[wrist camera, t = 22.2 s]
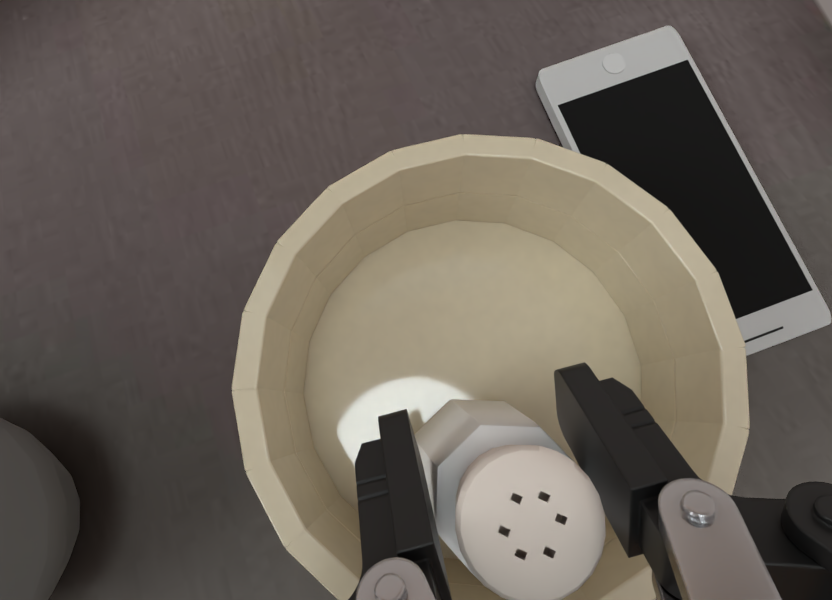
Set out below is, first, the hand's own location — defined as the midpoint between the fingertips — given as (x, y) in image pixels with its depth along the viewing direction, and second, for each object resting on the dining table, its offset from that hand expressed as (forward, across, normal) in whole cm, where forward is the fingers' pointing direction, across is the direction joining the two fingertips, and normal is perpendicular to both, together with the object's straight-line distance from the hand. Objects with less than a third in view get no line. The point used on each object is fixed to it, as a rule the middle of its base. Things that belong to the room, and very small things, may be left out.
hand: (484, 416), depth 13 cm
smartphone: (+12, -12, +2) cm, 17 cm away
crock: (+8, -1, +6) cm, 10 cm away
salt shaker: (+4, 0, +7) cm, 8 cm away
